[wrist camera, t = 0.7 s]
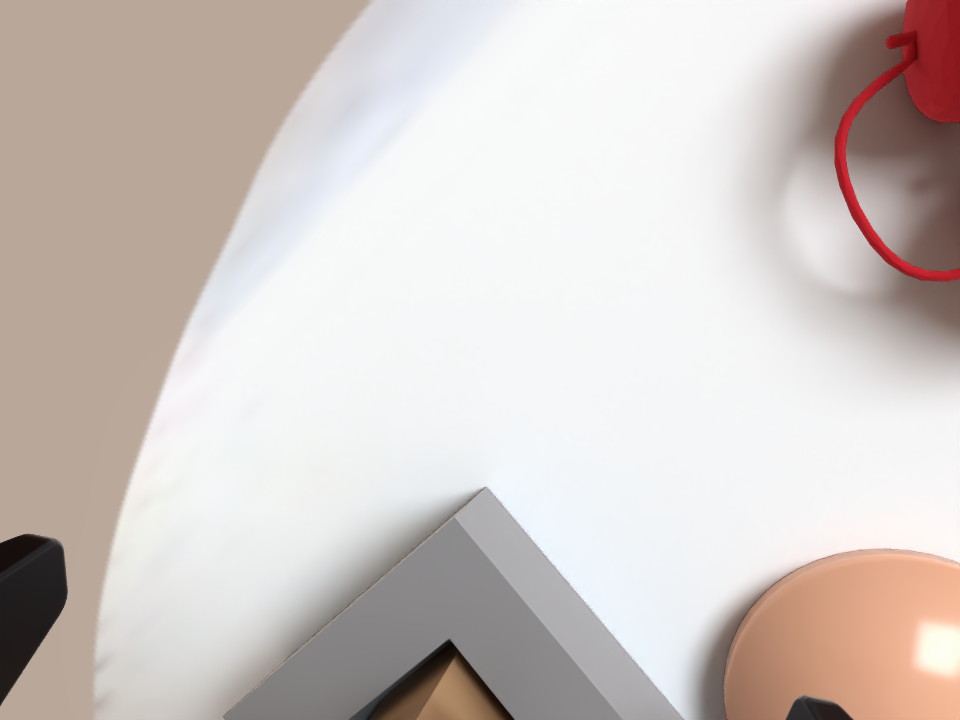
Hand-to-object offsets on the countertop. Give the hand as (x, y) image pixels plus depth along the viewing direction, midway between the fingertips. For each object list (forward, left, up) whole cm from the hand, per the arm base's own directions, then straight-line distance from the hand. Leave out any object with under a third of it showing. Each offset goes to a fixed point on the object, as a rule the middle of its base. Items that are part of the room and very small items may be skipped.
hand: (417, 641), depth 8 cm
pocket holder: (-4, +8, -13) cm, 16 cm away
